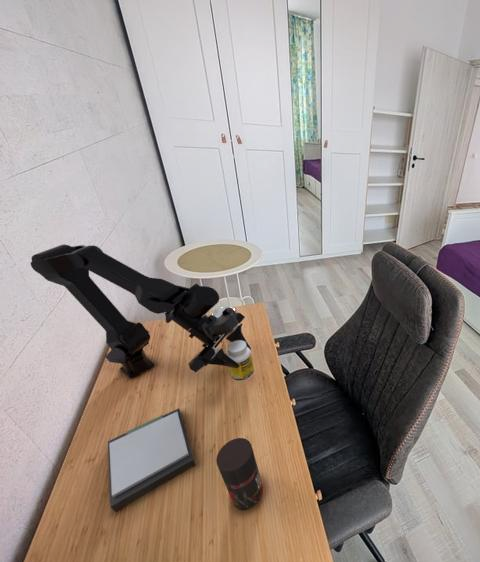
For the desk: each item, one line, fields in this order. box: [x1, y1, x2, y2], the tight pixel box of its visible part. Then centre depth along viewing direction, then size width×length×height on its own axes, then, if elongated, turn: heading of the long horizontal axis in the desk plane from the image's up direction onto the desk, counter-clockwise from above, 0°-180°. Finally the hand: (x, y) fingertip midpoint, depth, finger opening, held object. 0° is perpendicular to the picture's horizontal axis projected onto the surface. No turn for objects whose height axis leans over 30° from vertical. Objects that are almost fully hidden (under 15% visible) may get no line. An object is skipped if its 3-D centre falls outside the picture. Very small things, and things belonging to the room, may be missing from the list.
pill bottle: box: [226, 340, 255, 383], centre depth 79 cm, size 6×6×11 cm
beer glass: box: [210, 305, 235, 355], centre depth 90 cm, size 7×7×15 cm
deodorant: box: [215, 437, 264, 511], centre depth 55 cm, size 6×6×15 cm
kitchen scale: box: [107, 408, 197, 513], centre depth 63 cm, size 16×14×3 cm
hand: (244, 358), depth 78 cm, fingers closed on pill bottle, 6 cm apart
